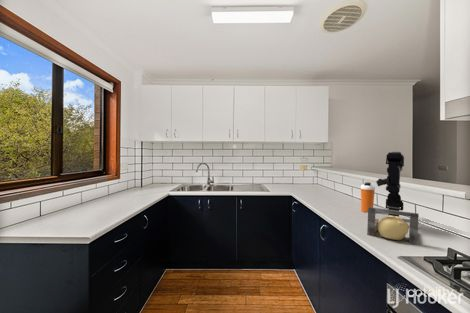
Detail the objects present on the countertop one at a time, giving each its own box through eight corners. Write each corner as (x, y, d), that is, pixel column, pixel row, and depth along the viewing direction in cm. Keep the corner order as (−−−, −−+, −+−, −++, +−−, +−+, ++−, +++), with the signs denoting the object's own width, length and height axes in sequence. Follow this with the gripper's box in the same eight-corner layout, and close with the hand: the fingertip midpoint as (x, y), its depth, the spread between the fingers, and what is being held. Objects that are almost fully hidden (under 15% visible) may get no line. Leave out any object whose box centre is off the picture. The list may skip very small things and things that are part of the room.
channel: (372, 225, 138) (373, 201, 138) (416, 232, 127) (417, 206, 127) (367, 234, 122) (368, 207, 122) (417, 244, 111) (418, 214, 110)
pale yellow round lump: (412, 243, 112) (413, 219, 112) (384, 241, 113) (385, 218, 113) (398, 234, 123) (399, 213, 123) (373, 233, 125) (374, 212, 124)
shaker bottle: (373, 210, 173) (374, 182, 173) (374, 213, 165) (375, 183, 165) (359, 209, 177) (360, 181, 176) (359, 212, 169) (360, 182, 168)
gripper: (379, 172, 152) (378, 197, 153) (375, 174, 137) (374, 202, 137) (400, 173, 146) (399, 200, 146) (399, 176, 131) (398, 205, 131)
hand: (392, 201), depth 140 cm, fingers closed
